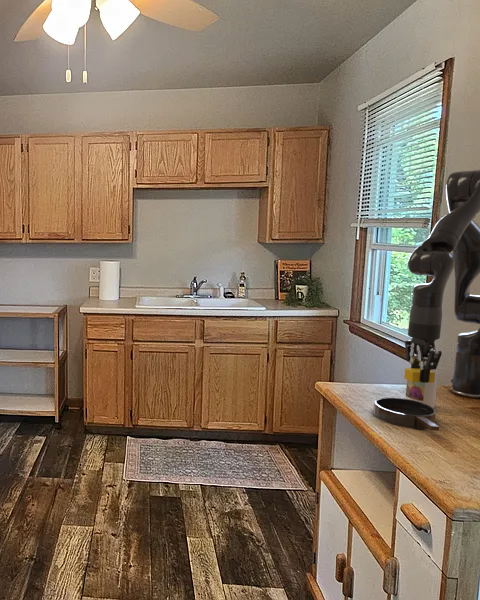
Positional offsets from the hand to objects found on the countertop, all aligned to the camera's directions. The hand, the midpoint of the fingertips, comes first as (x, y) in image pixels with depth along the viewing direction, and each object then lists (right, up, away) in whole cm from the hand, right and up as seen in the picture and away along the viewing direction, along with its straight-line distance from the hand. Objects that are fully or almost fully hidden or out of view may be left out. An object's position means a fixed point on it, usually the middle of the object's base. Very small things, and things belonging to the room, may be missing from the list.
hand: (419, 379), depth 143 cm
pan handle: (-3, -13, -7) cm, 16 cm away
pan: (-2, -12, +4) cm, 13 cm away
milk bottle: (+9, -11, +13) cm, 19 cm away
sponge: (0, 0, 0) cm, 0 cm away
